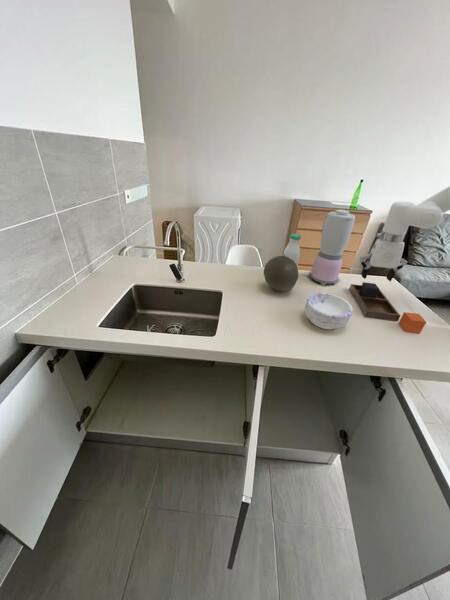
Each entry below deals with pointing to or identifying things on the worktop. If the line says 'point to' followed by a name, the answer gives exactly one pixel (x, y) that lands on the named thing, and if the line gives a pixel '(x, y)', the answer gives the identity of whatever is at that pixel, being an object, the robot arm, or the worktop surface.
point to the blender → (332, 246)
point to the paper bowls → (328, 310)
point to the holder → (374, 305)
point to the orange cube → (412, 322)
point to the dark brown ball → (281, 273)
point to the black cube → (369, 290)
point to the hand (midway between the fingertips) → (375, 278)
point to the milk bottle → (293, 248)
